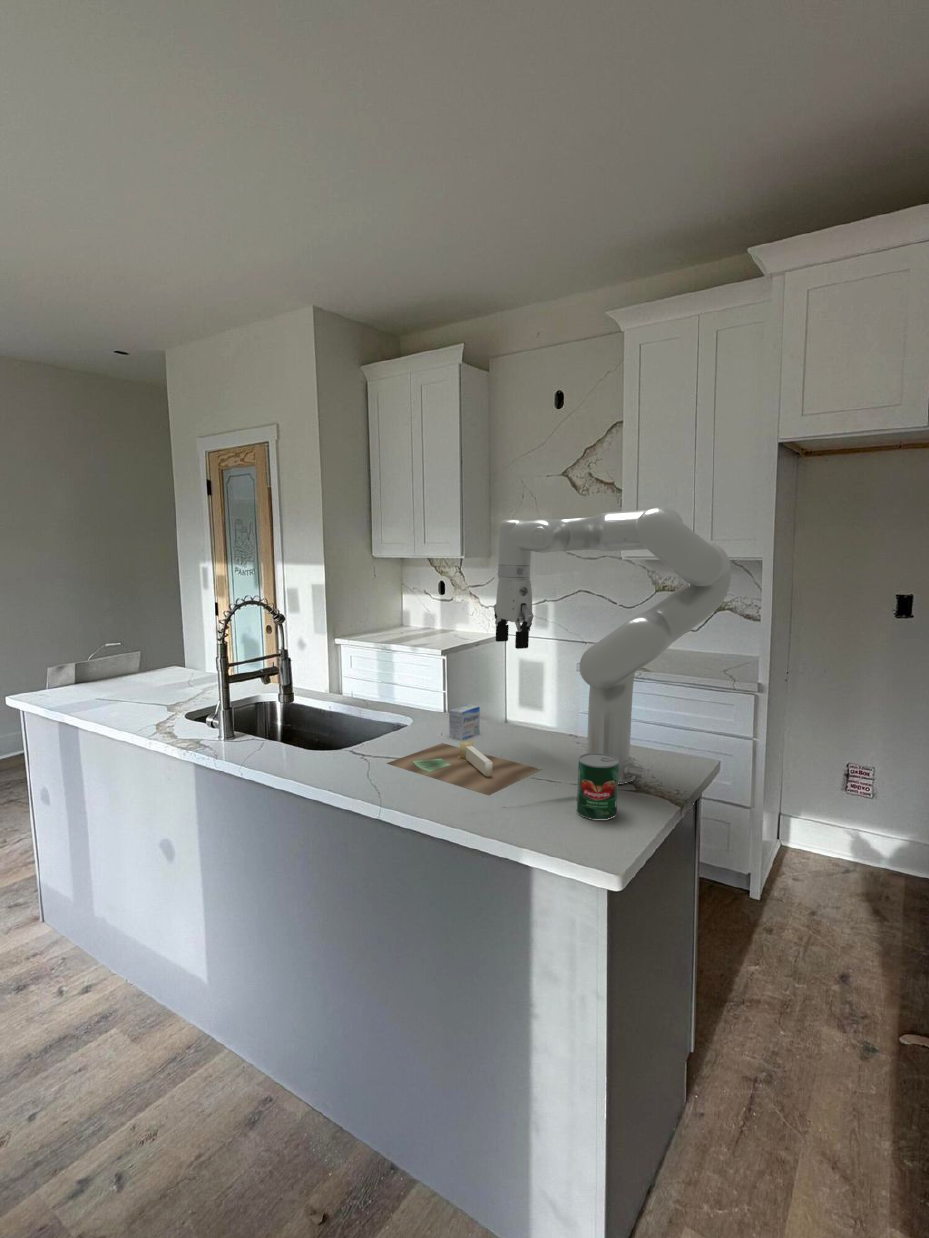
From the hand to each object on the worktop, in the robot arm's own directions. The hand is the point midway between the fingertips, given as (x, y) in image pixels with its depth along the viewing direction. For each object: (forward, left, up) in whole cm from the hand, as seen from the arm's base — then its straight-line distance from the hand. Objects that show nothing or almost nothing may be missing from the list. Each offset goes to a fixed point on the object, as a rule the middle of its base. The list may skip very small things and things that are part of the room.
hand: (511, 644), depth 163 cm
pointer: (+1, +12, -27) cm, 29 cm away
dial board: (+4, +13, -28) cm, 32 cm away
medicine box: (+19, -6, -29) cm, 35 cm away
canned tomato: (-31, +14, -29) cm, 45 cm away
